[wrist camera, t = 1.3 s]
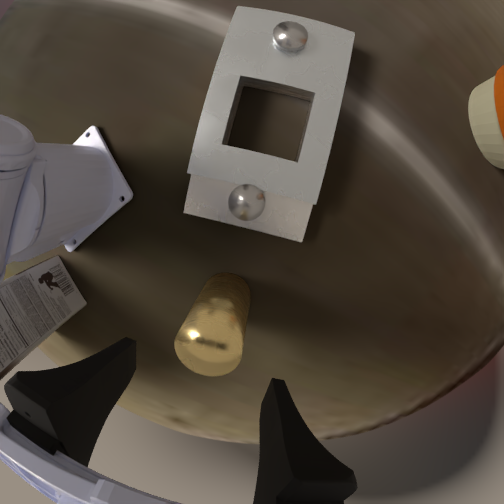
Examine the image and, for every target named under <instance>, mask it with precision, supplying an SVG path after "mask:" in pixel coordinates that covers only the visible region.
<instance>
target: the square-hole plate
mask: <svg viewBox="0 0 504 504" xmlns="http://www.w3.org/2000/svg"><path fill="white" fill-rule="evenodd" d="M354 36H355V33H354V32H351V31H349V30H346V29H343V28H340V27H336V26H333V25H330V24H327V23H323V22H320V21H316V20H312V19H308V18H304V17H300V16H296V15H291V14H286V13H281V12H276V11H270V10H264V9H257V8H250V7H241V6H237V8H236V11H235V13H234V16H233V18H232V21H231V24H230V26H229V29H228V32H227V34H226V37H225V40H224V43H223V46H222V49H221V52H220V55H219V58H218V61H217V64H216V67H215V70H214V73H213V76H212V79H211V83H210V86H209V89H208V93H207V96H206V100H205V103H204V107H203V110H202V114H201V118H200V121H199V125H198V129H197V133H196V137H195V141H194V145H193V149H192V153H191V157H190V162H189V166H188V170H187V173H189V174H191V178H190V183H189V187H188V192H187V197H186V202H185V207H184V212H183V213H187V214H191V215H195V216H199V217H203V218H207V219H212V220H216V221H220V222H224V223H228V224H232V225H236V226H240V227H244V228H248V229H252V230H256V231H260V232H264V233H268V234H271V235H275V236H279V237H283V238H287V239H291V240H294V241H298V242H302V241H303V237H304V234H305V231H306V227H307V224H308V220H309V217H310V213H311V209H312V206H313V204H315V205H316V203H317V199H318V196H319V192H320V188H321V185H322V181H323V177H324V173H325V169H326V166H327V162H328V158H329V154H330V150H331V146H332V141H333V137H334V133H335V129H336V125H337V120H338V116H339V111H340V107H341V102H342V98H343V93H344V88H345V84H346V79H347V74H348V69H349V64H350V58H351V53H352V48H353V42H354ZM243 86H247V87H252V88H257V89H262V90H267V91H271V92H276V93H280V94H284V95H288V96H292V97H296V98H300V99H303V100H307V101H310V105H309V109H308V113H307V117H306V121H305V125H304V129H303V133H302V137H301V141H300V145H299V149H298V153H297V157H296V161H295V162H294V161H290V160H286V159H283V158H279V157H275V156H271V155H267V154H263V153H259V152H254V151H250V150H246V149H241V148H237V147H232V146H228V142H229V138H230V134H231V130H232V126H233V122H234V119H235V115H236V111H237V108H238V104H239V100H240V97H241V93H242V90H243Z"/></svg>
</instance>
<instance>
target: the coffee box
mask: <svg viewBox="0 0 504 504" xmlns="http://www.w3.org/2000/svg"><path fill="white" fill-rule="evenodd" d="M86 304H87V303H86V301H85V300H84V298H83V296H82V295H81V293H80V292H79V290H78V288H77V287H76V285H75V284H74V282H73V280H72V278H71V277H70V275H69V273H68V272H67V270H66V268H65V266H64V265H63V263H62V261H61V259H60V257H59V256H58V255H56V256H53V257H51V258H49V259H47V260H45V261H43V262H41V263H39V264H37V265H34V266H32V267H30V268H28V269H26V270H24V271H22V272H20V273H18V274H16V275H14V276H12V277H10V278H8V279H6V280H4V281H2V283H1V284H0V380H1V379H2V378H3V377H4V376H5V375H6V374H7V373H8V372H10V371H11V370H12V369H13V368H14V367H15V366H16V365H17V364H19V362H20V361H21V360H23V359H24V358H25V357H26V356H27V355H28V354H29V353H30V352H31V351H33V350H34V349H35V348H36V347H37V346H38V345H40V344H41V343H42V342H43V341H44V340H45V339H46V338H47V337H49V336H50V335H51V334H52V333H53V332H54V331H56V330H57V329H58V328H59V327H60V326H61V325H63V324H64V323H65V322H66V321H67V320H68V319H70V318H71V317H72V316H73V315H75V314H76V313H77V312H78V311H79V310H81V309H82V308H83V307H84V306H85V305H86Z"/></svg>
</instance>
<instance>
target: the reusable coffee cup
mask: <svg viewBox="0 0 504 504" xmlns="http://www.w3.org/2000/svg"><path fill="white" fill-rule="evenodd" d="M468 112H469V120H470V125H471V129H472V132H473V136H474V138H475V141H476V143H477V145H478V147H479V149H480V151H481V152H482V154H483V155H484V157H485V158H486V159H487V160H488V161H489V162H490V163H491V164H492V165H494V166H495V167H498V168H501V169H504V65H503V66H502V67H500V68H499V70H498V71H497V73H496V76H494V77H492V78H490V79H489V80H487V81H485V82H484V83H482V84H480V85H478V86H477V87H475V88H474V89H473V91H472V93H471V95H470V98H469V105H468Z"/></svg>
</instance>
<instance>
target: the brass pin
mask: <svg viewBox="0 0 504 504" xmlns="http://www.w3.org/2000/svg"><path fill="white" fill-rule="evenodd" d="M250 299H251V294H250V289H249V287H248V285H247V283H246V282H245V281H244V280H243V279H242V278H241V277H239V276H237V275H235V274H232V273H219V274H216V275H214V276H212V277H211V278H210V279H209V280H208V281H207V282H206V284H205V286H204V287H203V289H202V291H201V293H200V294H199V296H198V298H197V300H196V301H195V303H194V305H193V307H192V308H191V310H190V312H189V314H188V315H187V317H186V319H185V321H184V323H183V324H182V326H181V328H180V330H179V332H178V333H177V335H176V338H175V343H174V346H175V351H176V354H177V356H178V358H179V359H180V360H181V362H182V363H183V364H184V365H185V366H186V367H188V368H189V369H190V370H192V371H194V372H196V373H198V374H201V375H206V376H221V375H225V374H228V373H230V372H231V371H233V370H234V369H235V368H236V367H237V366H238V364H239V363H240V360H241V355H242V349H243V343H244V337H245V330H246V324H247V318H248V311H249V305H250Z"/></svg>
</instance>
